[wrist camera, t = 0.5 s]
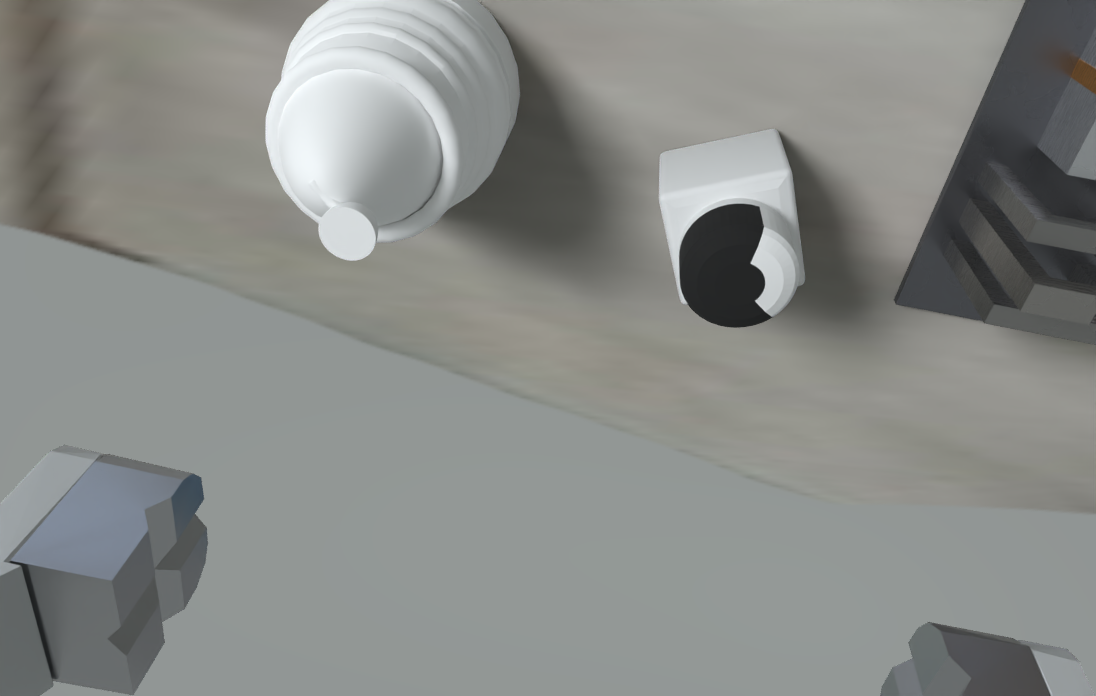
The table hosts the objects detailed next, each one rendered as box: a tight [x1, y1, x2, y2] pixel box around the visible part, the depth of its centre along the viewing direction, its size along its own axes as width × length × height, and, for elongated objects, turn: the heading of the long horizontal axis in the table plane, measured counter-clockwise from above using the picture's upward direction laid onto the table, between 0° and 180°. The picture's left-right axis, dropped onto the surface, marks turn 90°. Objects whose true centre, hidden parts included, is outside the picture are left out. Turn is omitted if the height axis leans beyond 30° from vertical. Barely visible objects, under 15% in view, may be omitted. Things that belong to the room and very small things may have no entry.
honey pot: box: [266, 0, 520, 260], centre depth 44 cm, size 13×13×18 cm
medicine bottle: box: [659, 129, 805, 328], centre depth 48 cm, size 7×7×12 cm
